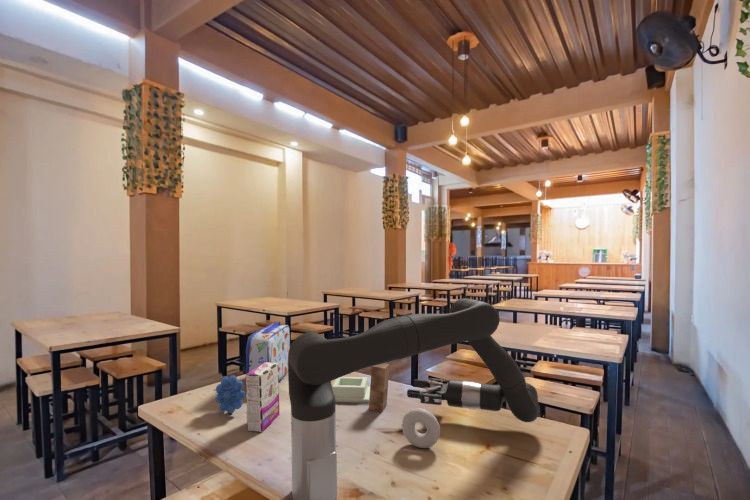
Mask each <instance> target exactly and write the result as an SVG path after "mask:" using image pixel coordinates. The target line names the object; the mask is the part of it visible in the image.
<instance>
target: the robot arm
mask: <svg viewBox="0 0 750 500" xmlns="http://www.w3.org/2000/svg"><path fill="white" fill-rule="evenodd" d="M499 325H500V315H499V312H498V311H497V309H496V308H495V307H494V306H493V305H491V304H489V303H488V302H485V301H482V300H477V299H473V298H464V297H463V298H460V299H459V298H458V299H457V300H456V301H455V302H453V304H452V305H451V307H450V311H449V313H413V314H405V315H401V316H397V317H391V318H389V319H386V320H383V321H381V322H379V323H377V324H375V325H373V326H372V327H370V328H368V329H367V330H365V331H364V332H361V333H358V334H355V335H352V336H345V337H340V338H332V339H329V338H325V337H324V336H323V335H321V334H320V333H317V332H304V333H302V334H300V335H298V336H297V337H296V338H295V339H294V340H293V341H292V343H290V349H289V353H288V372H287V374H288V375H287V376H288V377H287V378H288V379H287V380H288V397H289V401H290V415H291V416H290V421H291V429H290V430H291V432H290V433H291V434H290V436H291V438H290V439H291V496H292V500H337V499H338V470H337V469H338V463H337V462H338V460H337V458H338V456H337V455H338V454H337V439H336V436H337V434H336V431H337V429H336V426H337V425H336V417H337V416H336V404H335V396H334V393H333V390H332V386H333V385H332V381H335V380H336V379H337V378H340V377H345V376H347V375H350V374H352V373H354V372H357V371H360V370H363V369H366V368H370V367H372V366H375V365H378V364H382V363H386V364H387V363H389V362H392V361H396V360H401V359H405V358H409V357H412V356H416V355H419V354H422V353H426V352H428V351H429V352H430V351H432V350H437V349H439V348H442V347H446V346H449V345H453V344H458V343H464V342H467V343H468V344H469V345H470V346H471V348H472V349H473V350H474V351H475V353H476V354H477V355H478V356H479V358H480V359H481V360H482V362H483V363H484V365H485V366H486V368H488V370H489V371H490V373H491V375H492V376H493V378H494V380H495V381H496V382H497V384H488V383H487V384H486V383H479V382H475V381H469V380H460V379H449V380H447V379H442V378H436V377H435V378H434V377H433V378H432V377H429V378H428V379H426V380H423V379H417V378H416V379H414V380H413V387H415V388H422V389H423V390H420V389H412V388H411V389H410V388H409V389H408V388H407V392H406V396H407V398H410V399H411V398H412V399H419V401H420V403H421V404H427V405H436V406H441V405H442V401H446V402H447V406H449V407H454V408H462V409H469V410H481V411H491V412H500V411H501V409H502V408H503V404H504V403H505V402H506V403H507V406H508V408H509V410H510V411H511V413H512V414H513V416H514V417H515V418H516V419H518V420H519V421H521V422H524V423H532V422H534V421H536V420H537V418H538V417H539V414H540V408H539V407H540V406H539V397H538V391H537V389H536V388H535V386H533V385H532V384H530V383H528V382H526V379H525V376H524V374H523V372H522V371H521V369H520V367H519V366H518V364H517V363H516V361H515V360H514V358H513V357H512V356H511V355H510V354H509V353H508V351H506V350H505V348H503V347H502V346H501V345H500V344H499V343H498V342H497V340H496V339H494V338H493V337H492V335H493V334H494V333H495V332H496V330H497V329H498V327H499ZM331 385H332V386H331Z"/></svg>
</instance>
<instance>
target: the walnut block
mask: <svg viewBox="0 0 750 500" xmlns="http://www.w3.org/2000/svg"><path fill="white" fill-rule="evenodd" d="M370 369H371V370H370V385H369V386H370V399H369V405H368V410H369V411H371V412H372V411H373V412H379V413H383V412H384V411H385V410H386V408H387V406H388V393H389V389H388V388H389V378H390V377H389V375H390V364H389V363H387V362H386V363H382V364H378V365H375V366H371V368H370Z"/></svg>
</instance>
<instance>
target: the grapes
mask: <svg viewBox="0 0 750 500" xmlns="http://www.w3.org/2000/svg"><path fill="white" fill-rule="evenodd" d="M243 386H244V383H243V381H242V380H238V378H237V376H236V375H231V376H229V377H228V376H223V377H222V378H221V381H220V383H218V384H217V386H216V387H215V391H216V393H217V395H216V396H215V402H216V403H217V404H219V410H220V411H221V412H224V411H226V412H227V413H228V414H233V413H235V411H236V410H239V409H240V408H242V405H243V400H244V399H245V397H246V391H244V390H242V389H243V388H244V387H243Z"/></svg>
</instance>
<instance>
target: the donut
mask: <svg viewBox="0 0 750 500" xmlns="http://www.w3.org/2000/svg"><path fill="white" fill-rule="evenodd" d="M417 423H421V424H423V425H424V426H425V427H426V432H425V433H422V432H419V431H418V430H417V429H416V424H417ZM401 429H402V433H403V435H404V437H405V439H406V441H408V442H409V443H410V444H411V445H412V446H414V447H417V448H419V449H427V448H431V447H433V446H434V445H435V444H436V443H437V442H438V441H439V438H440V435H441V427H440V424H439V421H438V419H437V417H436V416H435V415H434V414H433V413H432V412H431V411H429V410H428V409H424V408H421V407H419V408H417V407H415V408H413V409H410V410H409V411H408V412H406V413H405V415H404V416H403V419H402V423H401Z"/></svg>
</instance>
